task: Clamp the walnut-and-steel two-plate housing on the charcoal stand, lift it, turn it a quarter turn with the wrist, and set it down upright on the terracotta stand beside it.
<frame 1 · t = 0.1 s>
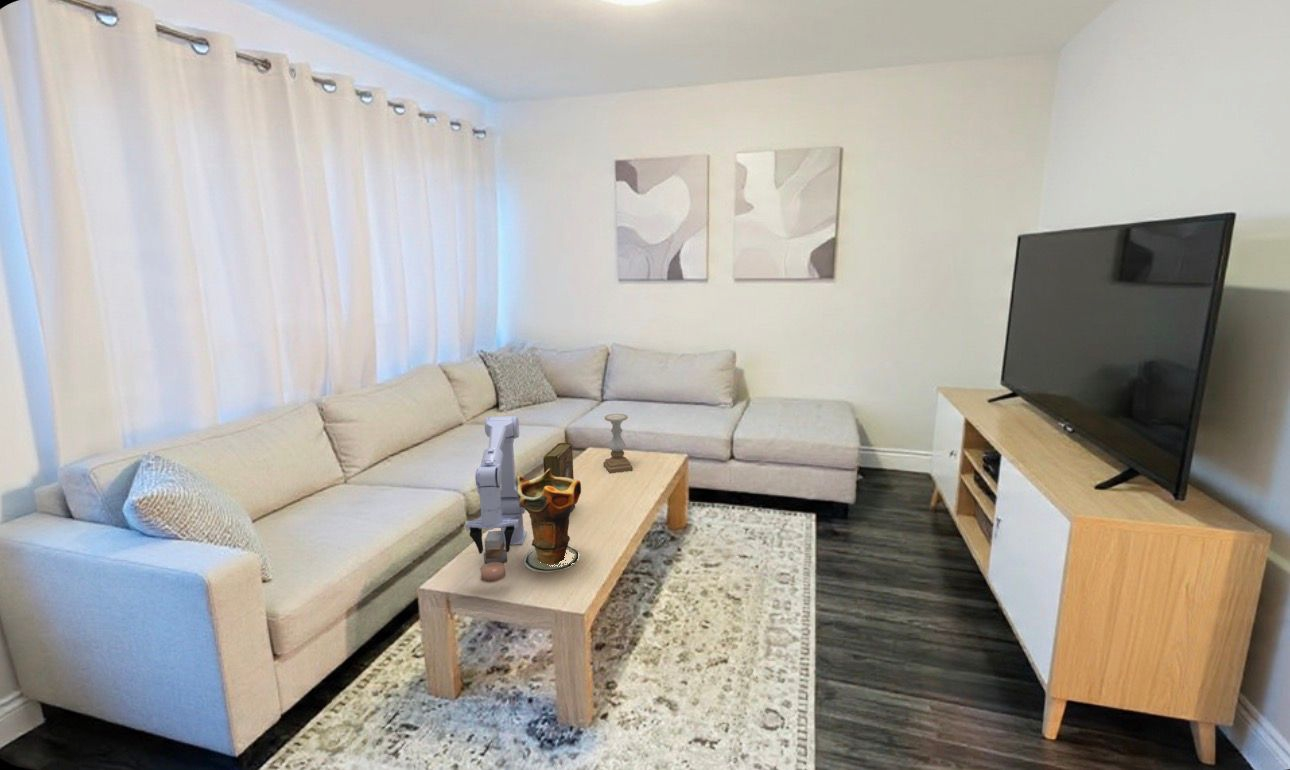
hand: (494, 551, 173), 10 cm above the table, tool pointing down, fingers open, 7 cm apart
stand b: (493, 575, 180), on the table
decorative vase: (552, 559, 189), on the table
stand a: (495, 560, 188), on the table
housing: (495, 553, 188), point 2 cm above the table, touching stand a
book: (562, 515, 222), on the table
candle holder: (617, 468, 270), on the table
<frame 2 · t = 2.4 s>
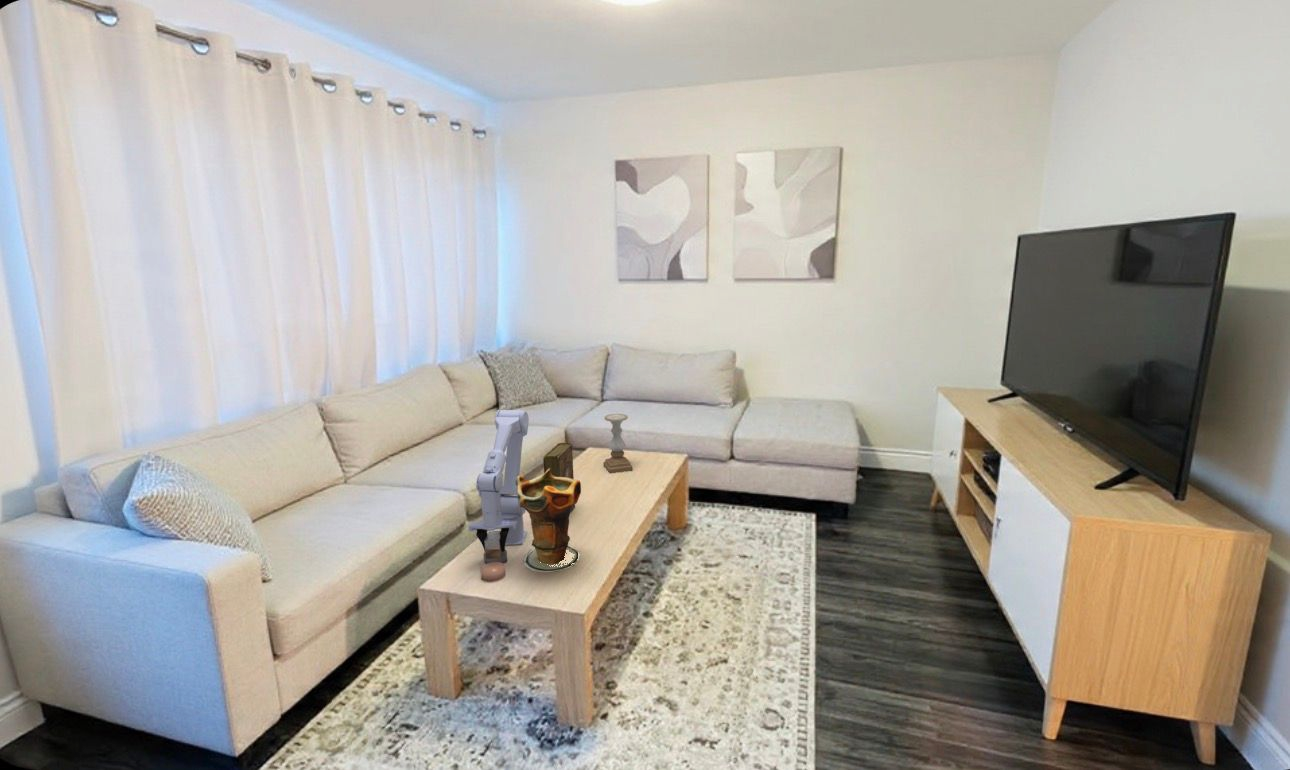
hand: (495, 550, 188), 3 cm above the table, tool pointing down, fingers closed on housing, 4 cm apart
housing: (495, 553, 188), point 2 cm above the table, touching gripper, stand a
everything else where it was.
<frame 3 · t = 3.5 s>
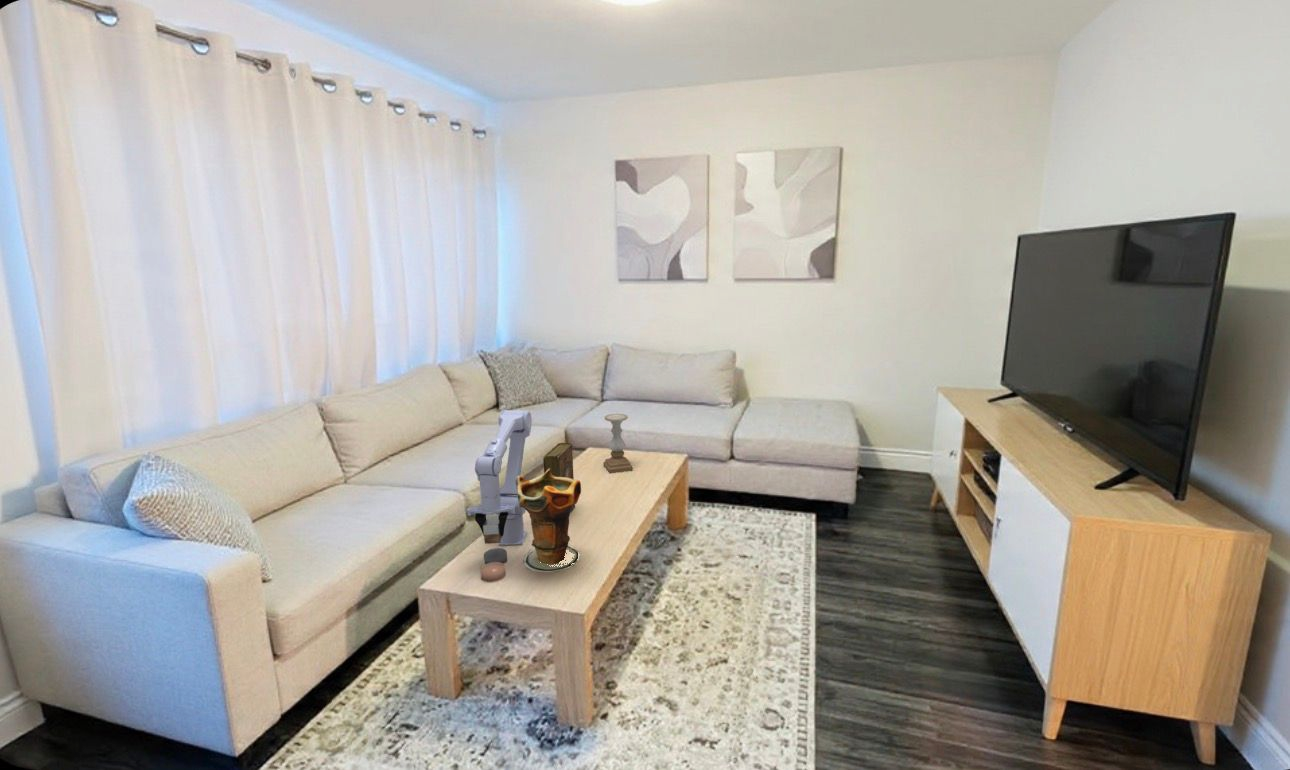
hand: (493, 535, 187), 9 cm above the table, tool pointing down, fingers closed on housing, 4 cm apart
housing: (494, 538, 187), point 8 cm above the table, touching gripper
everything else where it was.
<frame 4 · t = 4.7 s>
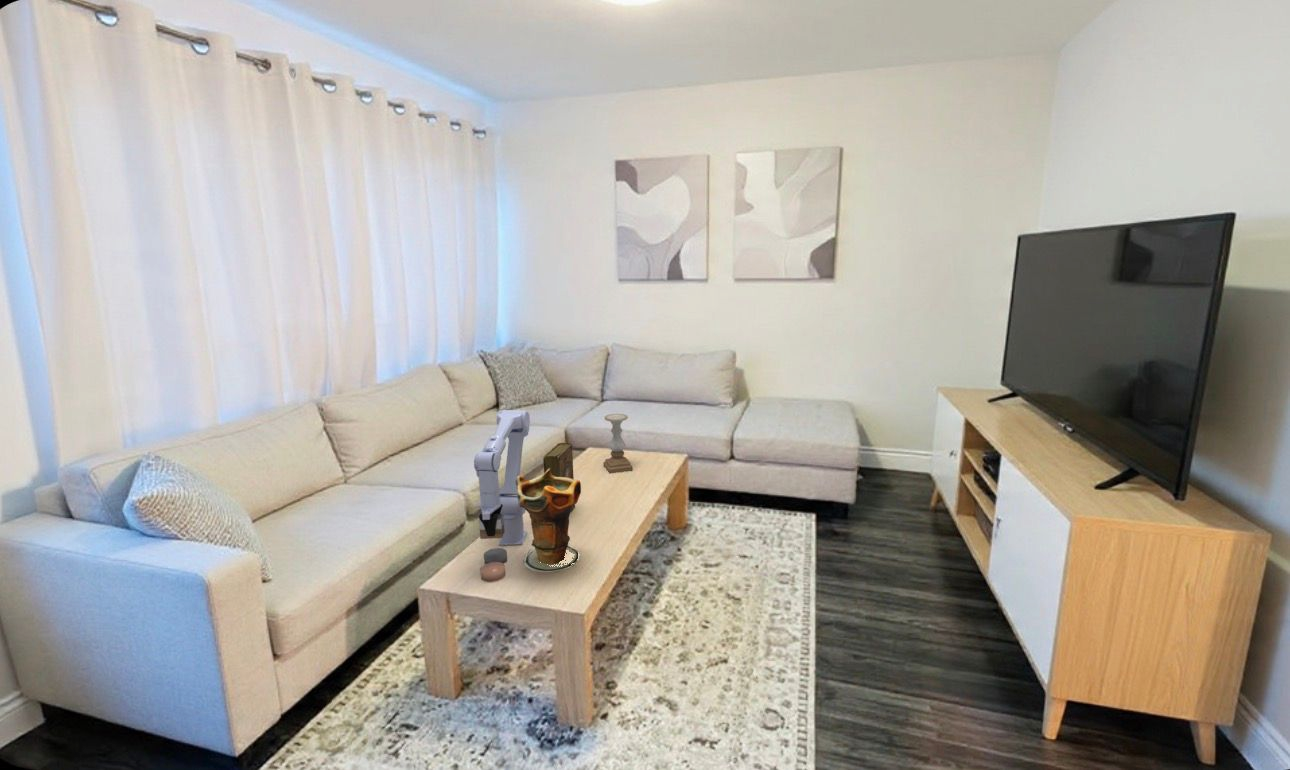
hand: (492, 532, 185), 10 cm above the table, tool pointing down, fingers closed on housing, 4 cm apart
housing: (492, 535, 185), point 9 cm above the table, touching gripper
everything else where it was.
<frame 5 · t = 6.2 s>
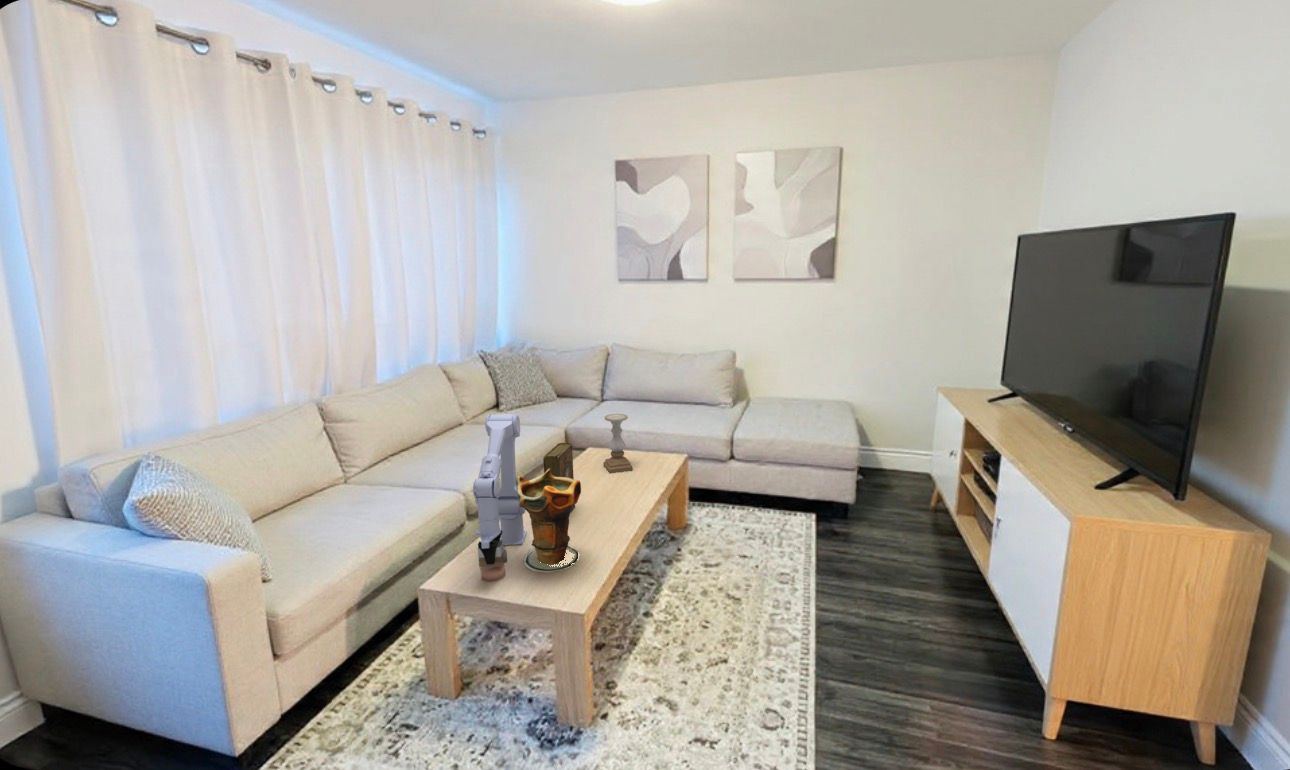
hand: (492, 559, 179), 5 cm above the table, tool pointing down, fingers closed on housing, 4 cm apart
housing: (492, 562, 179), point 4 cm above the table, touching gripper
everything else where it was.
when the fingers open (4 cm above the table, at t = 7.2 s): housing stays where it is, resting on stand b.
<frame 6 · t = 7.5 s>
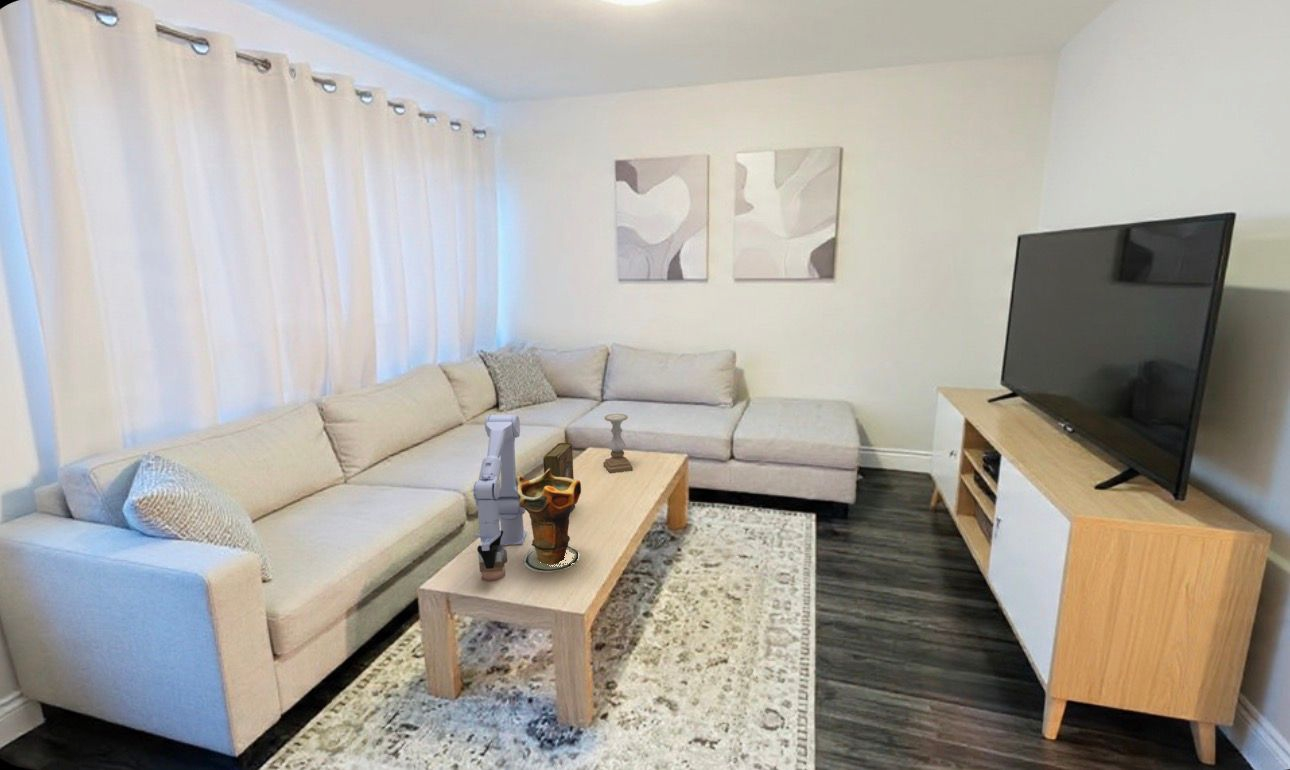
hand: (492, 561, 179), 4 cm above the table, tool pointing down, fingers open, 7 cm apart
housing: (492, 567, 179), point 2 cm above the table, touching stand b
everything else where it was.
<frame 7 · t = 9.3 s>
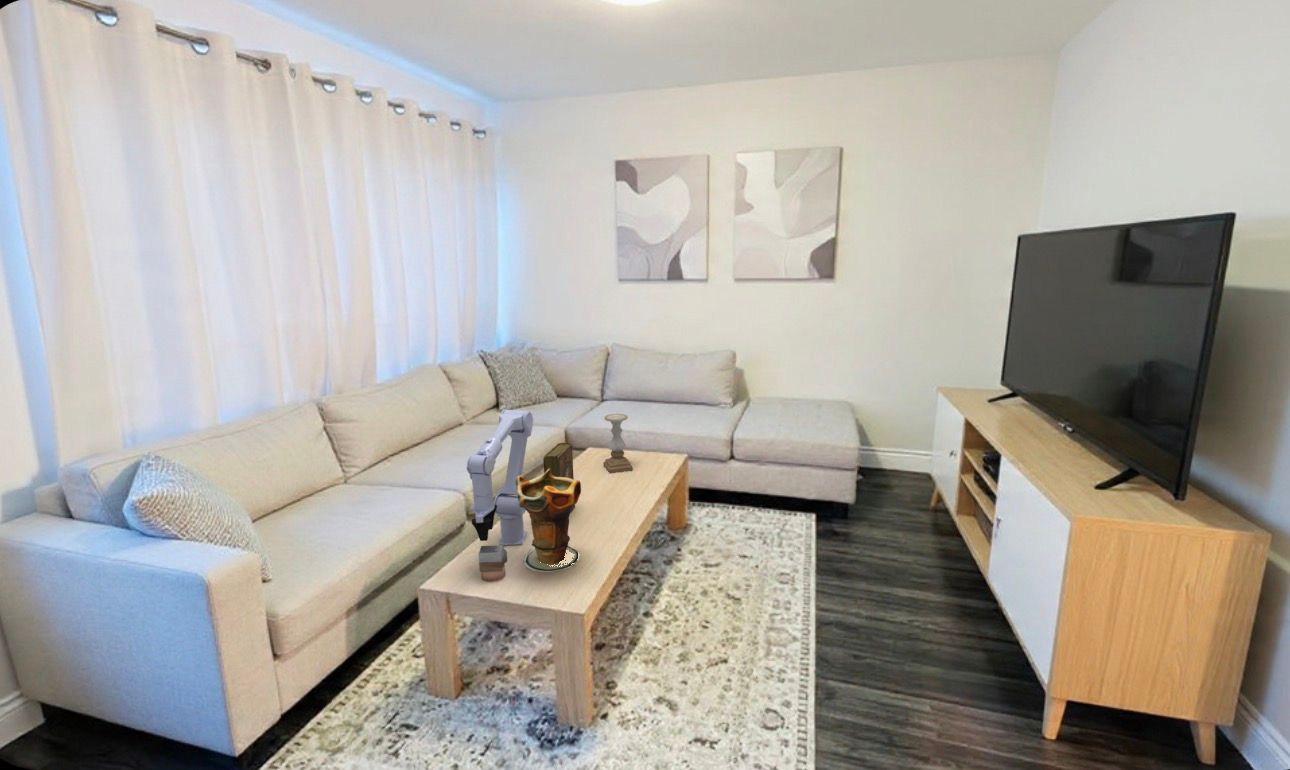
hand: (486, 534, 185), 9 cm above the table, tool pointing down, fingers open, 7 cm apart
nothing on the table moved.
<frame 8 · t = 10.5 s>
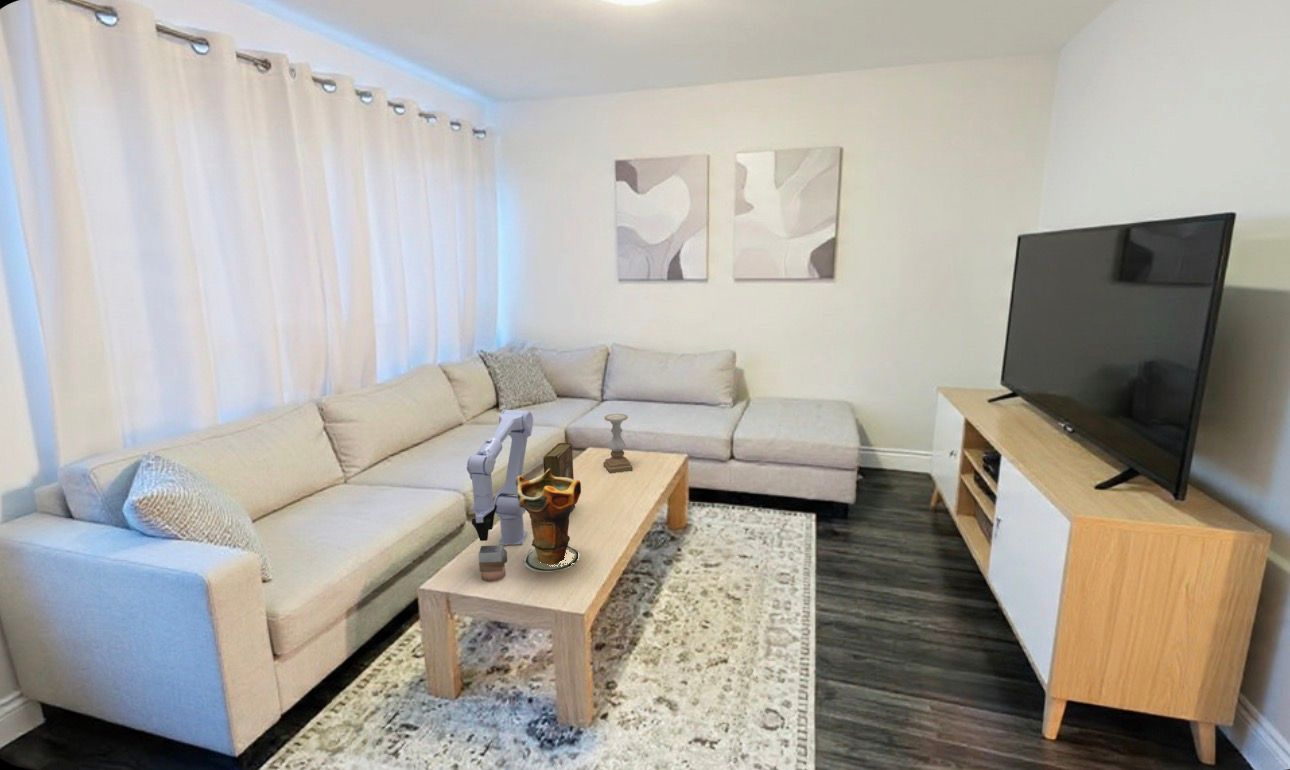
hand: (486, 534, 185), 9 cm above the table, tool pointing down, fingers open, 7 cm apart
nothing on the table moved.
at the end: housing 0.1 cm off-centre on the stand b, point 2.5 cm above the stand b's base; housing tilted 0°; the gripper is holding nothing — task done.
